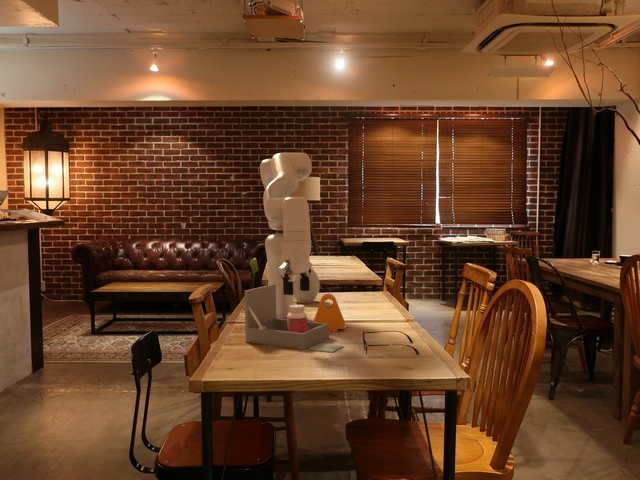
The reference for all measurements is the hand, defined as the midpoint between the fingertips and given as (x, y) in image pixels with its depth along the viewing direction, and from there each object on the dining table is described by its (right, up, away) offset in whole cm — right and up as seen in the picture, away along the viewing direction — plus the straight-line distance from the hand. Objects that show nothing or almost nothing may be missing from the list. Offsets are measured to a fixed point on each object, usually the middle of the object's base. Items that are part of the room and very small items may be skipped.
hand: (296, 292), depth 166 cm
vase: (+1, -11, +71) cm, 71 cm away
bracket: (+10, -14, +18) cm, 25 cm away
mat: (+9, -16, -8) cm, 20 cm away
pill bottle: (0, -15, +1) cm, 15 cm away
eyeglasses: (+28, -16, -9) cm, 33 cm away
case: (-2, -15, +3) cm, 16 cm away
